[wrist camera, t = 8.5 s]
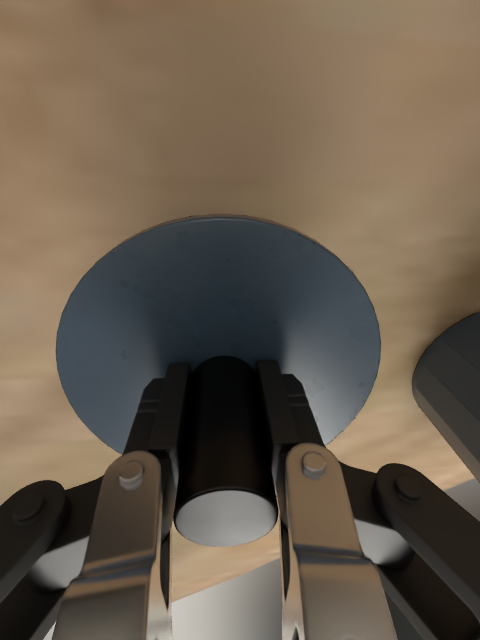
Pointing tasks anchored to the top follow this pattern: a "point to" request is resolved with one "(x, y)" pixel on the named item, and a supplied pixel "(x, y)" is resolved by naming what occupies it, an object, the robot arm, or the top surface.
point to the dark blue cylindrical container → (453, 389)
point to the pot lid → (218, 352)
